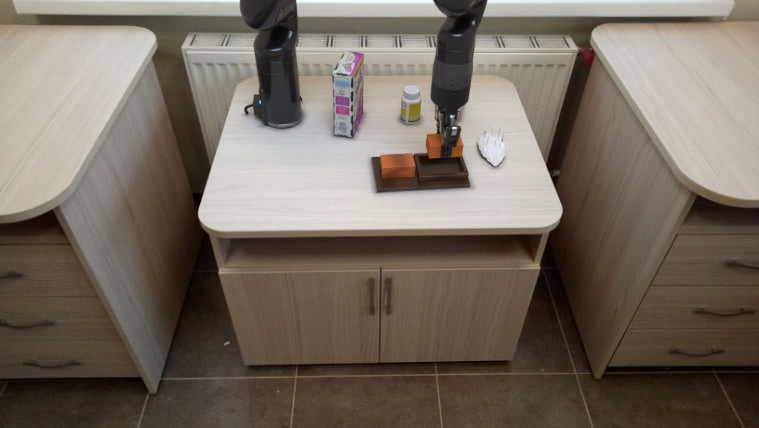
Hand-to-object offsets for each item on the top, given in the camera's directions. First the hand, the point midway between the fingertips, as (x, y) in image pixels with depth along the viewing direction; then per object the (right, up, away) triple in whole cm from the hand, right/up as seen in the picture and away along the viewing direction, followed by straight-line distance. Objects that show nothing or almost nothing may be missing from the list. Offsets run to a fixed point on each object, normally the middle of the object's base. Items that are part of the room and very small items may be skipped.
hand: (443, 149), depth 115 cm
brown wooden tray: (-5, -5, +4) cm, 8 cm away
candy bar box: (-21, +8, +17) cm, 28 cm away
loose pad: (0, 0, 0) cm, 0 cm away
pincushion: (+12, +1, +10) cm, 16 cm away
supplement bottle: (-6, +10, +19) cm, 22 cm away
